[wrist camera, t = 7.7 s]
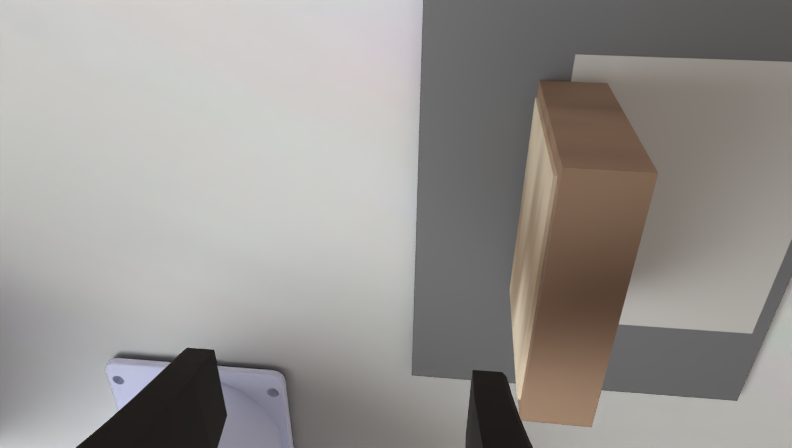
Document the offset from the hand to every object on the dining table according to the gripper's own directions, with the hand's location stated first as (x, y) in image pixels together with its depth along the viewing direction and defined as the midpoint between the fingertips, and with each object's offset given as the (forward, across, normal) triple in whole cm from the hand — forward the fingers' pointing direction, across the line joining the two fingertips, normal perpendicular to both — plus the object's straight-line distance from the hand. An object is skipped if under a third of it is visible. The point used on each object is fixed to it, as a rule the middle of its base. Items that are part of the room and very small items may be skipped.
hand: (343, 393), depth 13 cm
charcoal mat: (+9, -8, 0) cm, 12 cm away
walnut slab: (+9, -6, 0) cm, 11 cm away
